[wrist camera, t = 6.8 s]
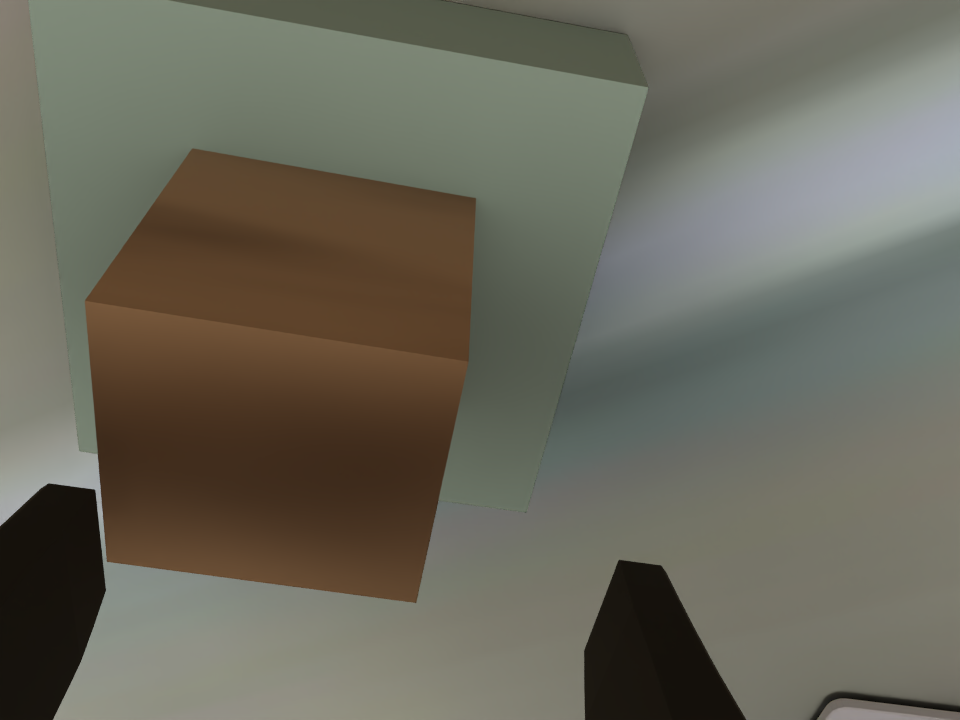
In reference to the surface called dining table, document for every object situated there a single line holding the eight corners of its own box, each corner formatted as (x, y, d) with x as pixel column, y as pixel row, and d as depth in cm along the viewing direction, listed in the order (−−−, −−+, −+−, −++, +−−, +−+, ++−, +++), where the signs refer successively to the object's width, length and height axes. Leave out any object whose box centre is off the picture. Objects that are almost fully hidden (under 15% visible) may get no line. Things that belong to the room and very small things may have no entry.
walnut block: (433, 412, 19) (415, 603, 15) (193, 375, 18) (107, 561, 14) (476, 198, 16) (468, 361, 12) (192, 148, 16) (84, 300, 12)
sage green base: (523, 428, 23) (526, 512, 21) (125, 370, 22) (79, 451, 20) (627, 35, 17) (648, 87, 15) (95, -65, 16) (25, -26, 14)
